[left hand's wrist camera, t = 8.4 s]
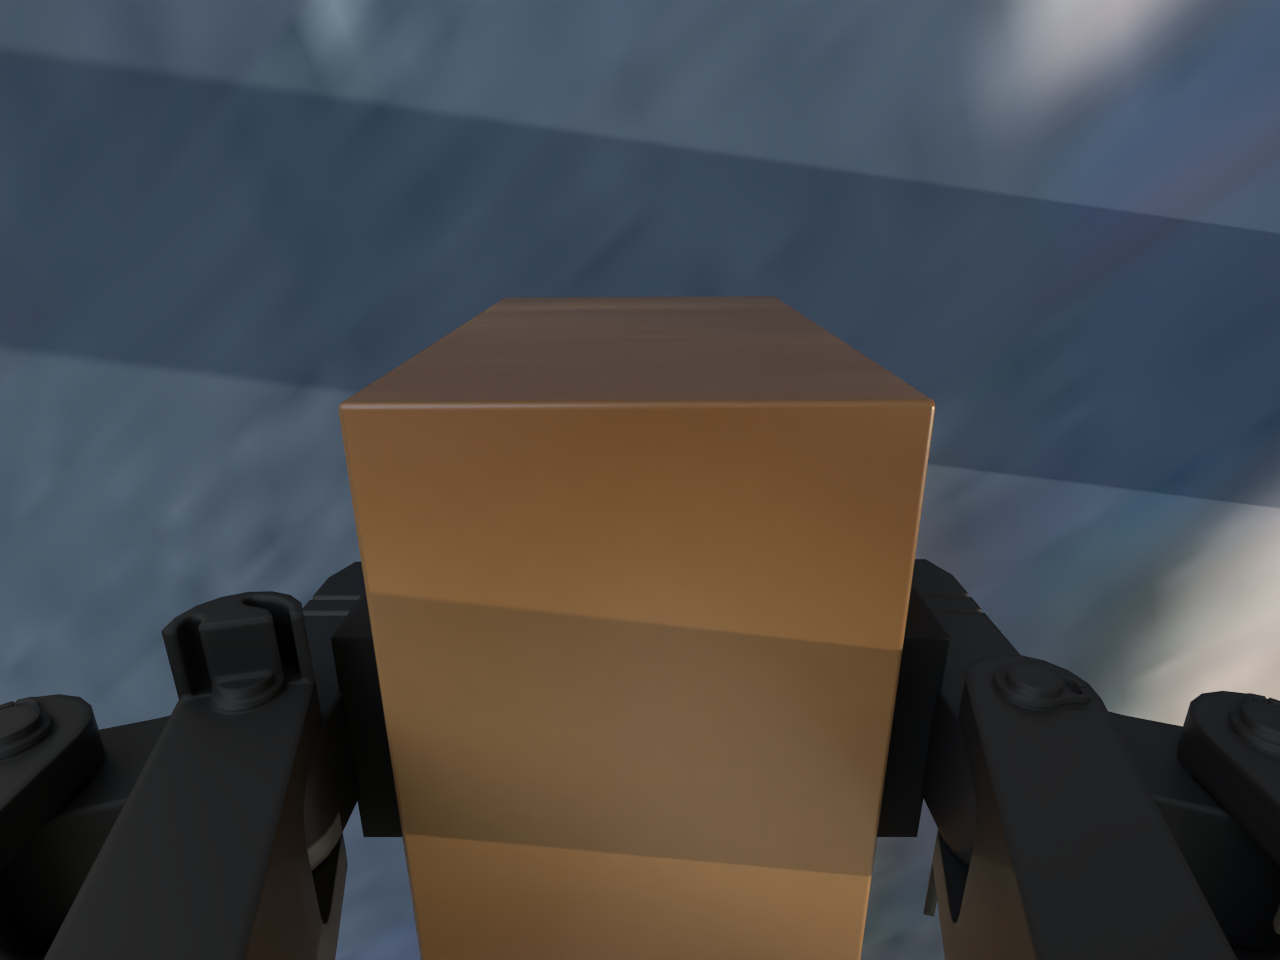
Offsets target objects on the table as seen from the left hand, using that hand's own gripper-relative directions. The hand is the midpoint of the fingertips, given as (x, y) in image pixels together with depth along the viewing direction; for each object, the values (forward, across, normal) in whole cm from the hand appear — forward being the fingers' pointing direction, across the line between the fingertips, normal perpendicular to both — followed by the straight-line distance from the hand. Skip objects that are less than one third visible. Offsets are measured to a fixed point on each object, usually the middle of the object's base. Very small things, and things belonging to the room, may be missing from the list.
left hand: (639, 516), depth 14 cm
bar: (+1, 0, -32) cm, 32 cm away
